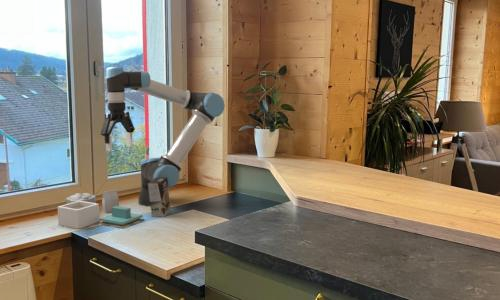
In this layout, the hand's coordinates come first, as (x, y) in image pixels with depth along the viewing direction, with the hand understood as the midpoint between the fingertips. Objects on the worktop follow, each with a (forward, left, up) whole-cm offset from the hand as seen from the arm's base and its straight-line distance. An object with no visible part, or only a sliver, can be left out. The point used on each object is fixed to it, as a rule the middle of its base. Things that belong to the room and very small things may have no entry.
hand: (119, 148), depth 217 cm
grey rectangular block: (-2, -8, -31) cm, 32 cm away
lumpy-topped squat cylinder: (+6, -19, -31) cm, 37 cm away
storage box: (+19, -6, -31) cm, 37 cm away
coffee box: (-9, +17, -31) cm, 36 cm away
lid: (+9, +9, -30) cm, 32 cm away
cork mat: (+9, +9, -31) cm, 33 cm away
